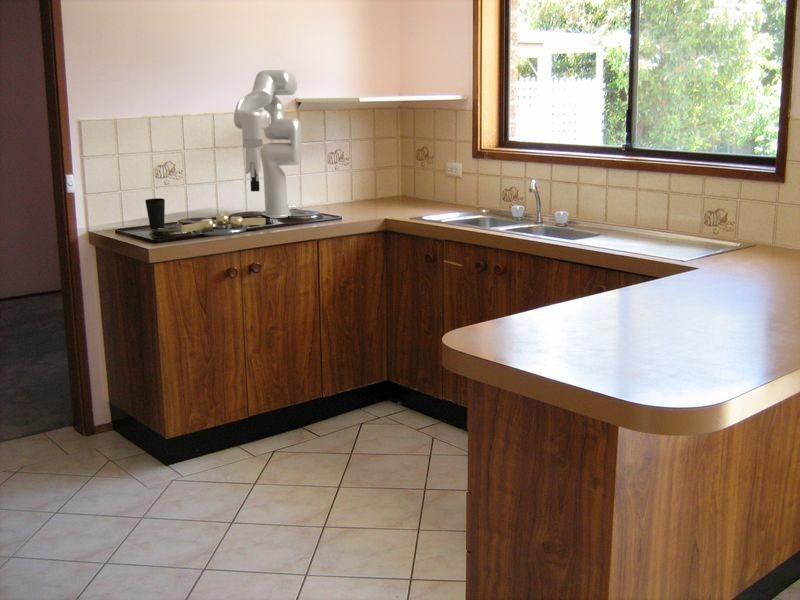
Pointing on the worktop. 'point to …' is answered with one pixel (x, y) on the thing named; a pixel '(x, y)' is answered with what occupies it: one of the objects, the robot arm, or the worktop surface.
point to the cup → (156, 212)
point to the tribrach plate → (222, 230)
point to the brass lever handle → (246, 221)
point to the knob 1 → (223, 218)
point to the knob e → (198, 226)
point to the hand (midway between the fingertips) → (255, 190)
